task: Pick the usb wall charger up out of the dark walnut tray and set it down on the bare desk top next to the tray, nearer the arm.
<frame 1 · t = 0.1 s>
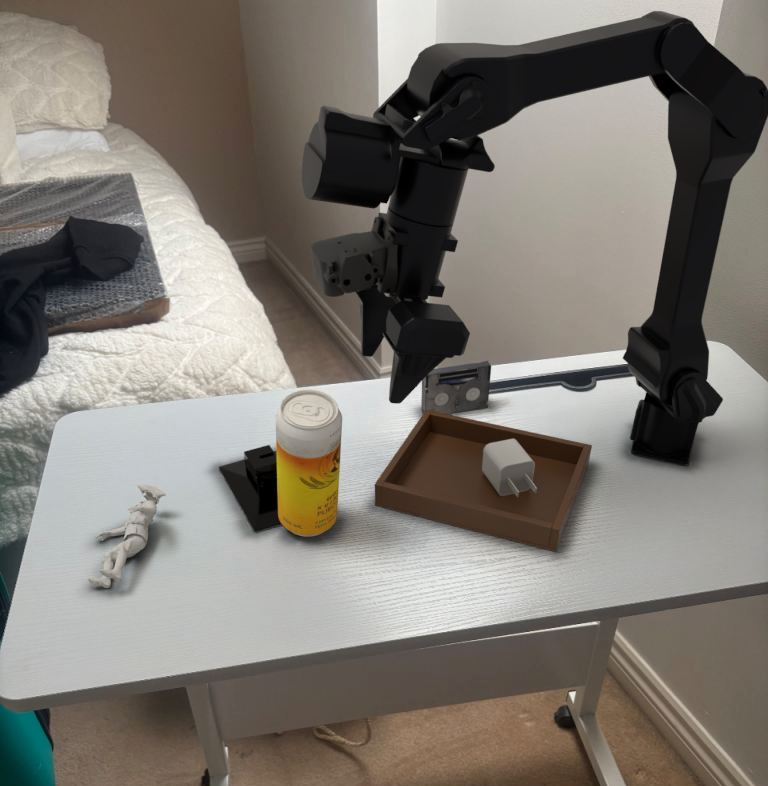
hand: (380, 378, 79), 15 cm above the table, tool pointing down, fingers open, 9 cm apart
mini dv tape: (454, 410, 103), on the table
tray: (484, 485, 91), on the table
beer can: (307, 519, 86), on the table
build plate: (266, 492, 91), on the table
usb wall charger: (511, 490, 90), resting on tray
soldier figure: (133, 552, 83), on the table
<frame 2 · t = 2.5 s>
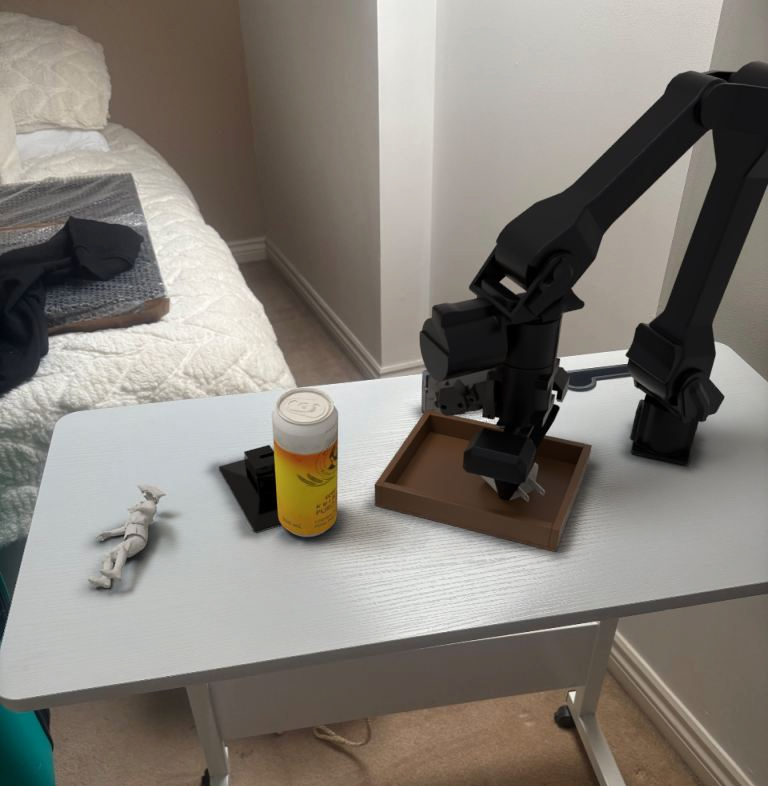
hand: (511, 483, 90), 1 cm above the table, tool pointing down, fingers closed on usb wall charger, 5 cm apart
beer can: (307, 520, 86), on the table, touching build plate
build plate: (266, 491, 91), on the table, touching beer can
usb wall charger: (513, 493, 89), resting on tray, touching gripper
everything else where it was.
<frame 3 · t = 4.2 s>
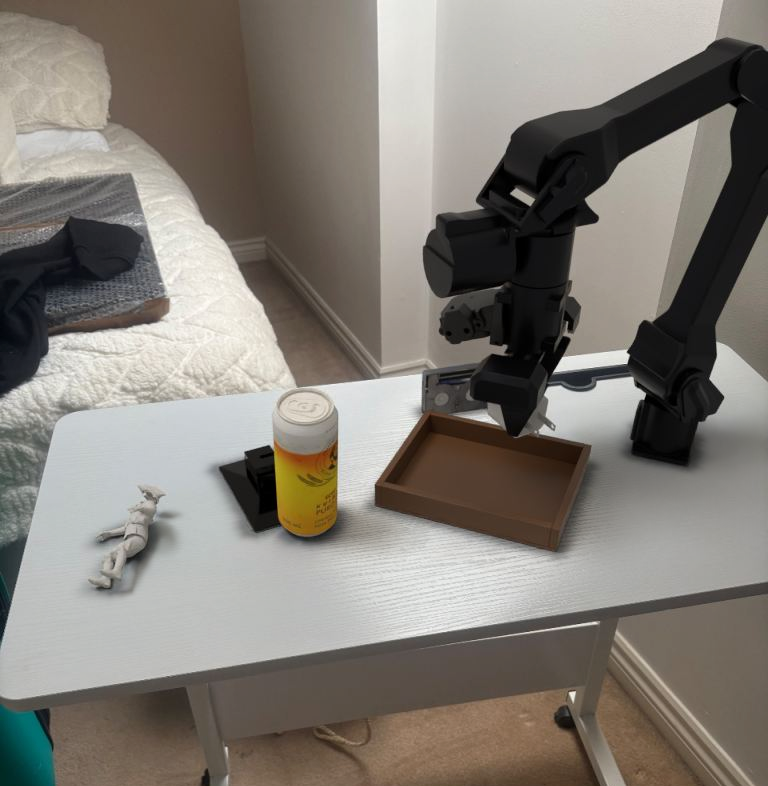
hand: (520, 420, 85), 9 cm above the table, tool pointing down, fingers closed on usb wall charger, 5 cm apart
usb wall charger: (522, 431, 85), point 8 cm above the table, touching gripper
everything else where it was.
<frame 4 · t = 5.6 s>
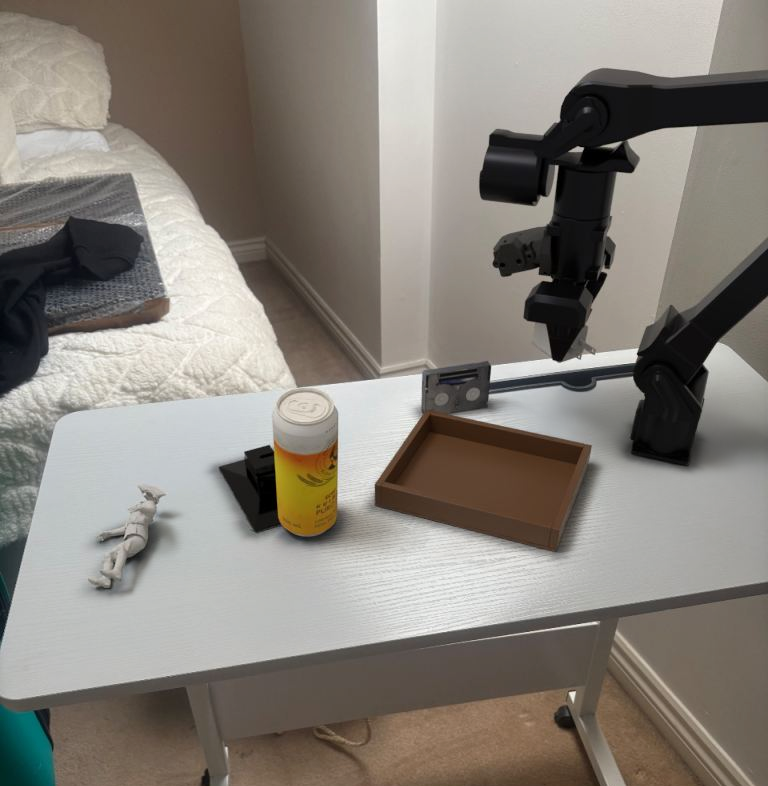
hand: (562, 348, 94), 10 cm above the table, tool pointing down, fingers closed on usb wall charger, 5 cm apart
usb wall charger: (563, 357, 94), point 9 cm above the table, touching gripper
everything else where it was.
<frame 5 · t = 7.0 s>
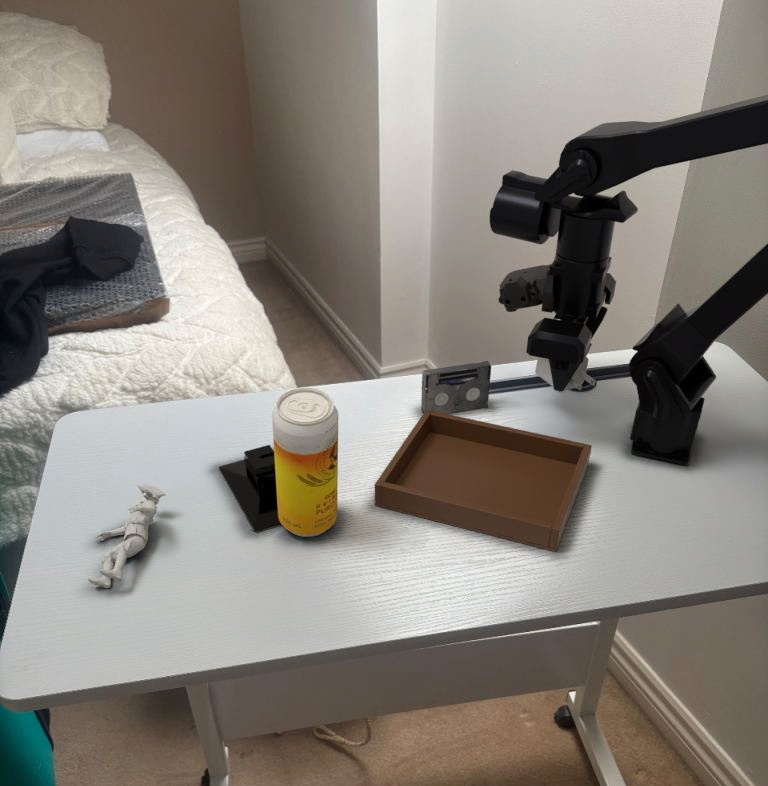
hand: (564, 378, 100), 5 cm above the table, tool pointing down, fingers closed on usb wall charger, 5 cm apart
usb wall charger: (565, 387, 100), point 4 cm above the table, touching gripper
everything else where it was.
when the fingers open (0 cm above the table, at t = 8.5 s): usb wall charger stays where it is, on the table.
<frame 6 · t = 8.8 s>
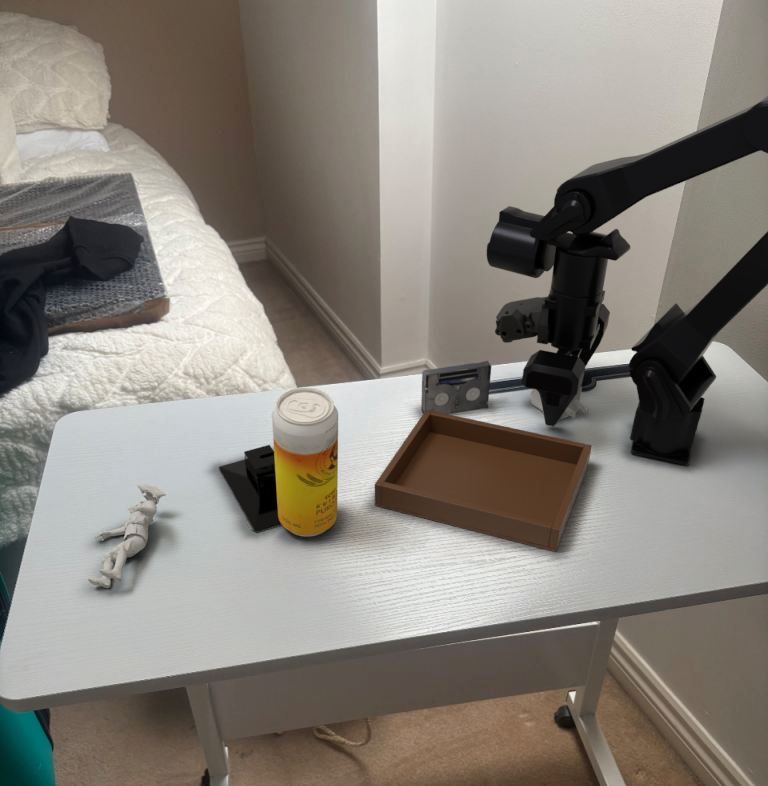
hand: (559, 406, 102), 1 cm above the table, tool pointing down, fingers open, 9 cm apart
usb wall charger: (560, 415, 102), on the table
everything else where it was.
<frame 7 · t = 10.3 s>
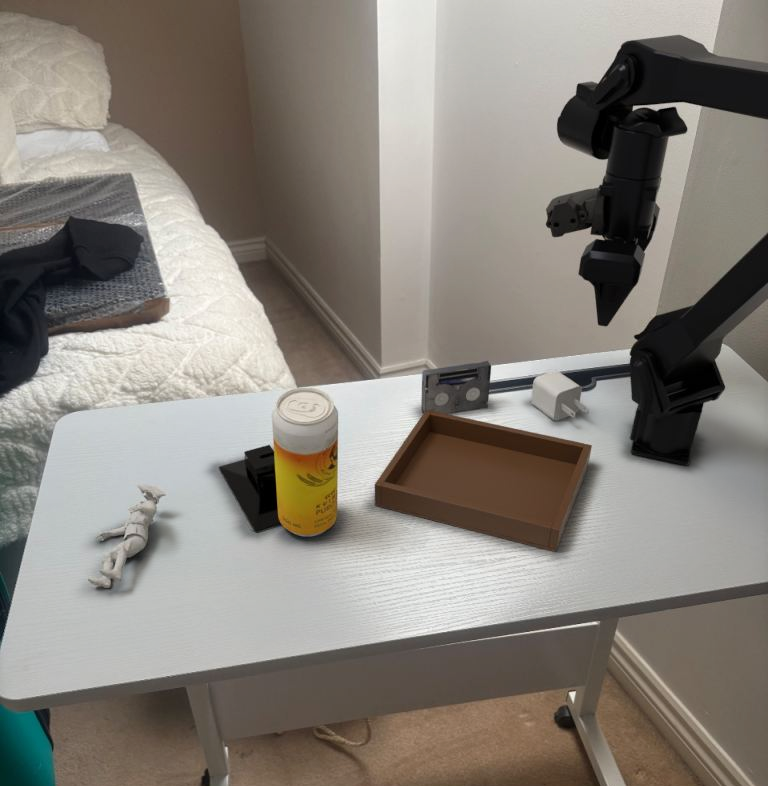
hand: (608, 308, 98), 12 cm above the table, tool pointing down, fingers open, 9 cm apart
nothing on the table moved.
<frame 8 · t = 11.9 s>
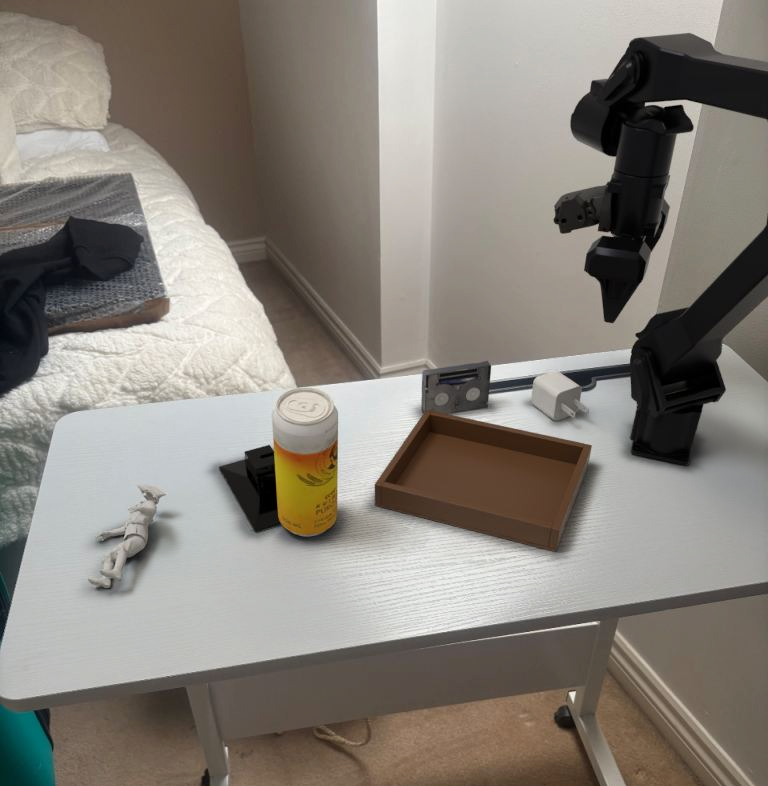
hand: (616, 305, 98), 12 cm above the table, tool pointing down, fingers open, 9 cm apart
nothing on the table moved.
at the end: usb wall charger inside the target area (0.8 cm from its centre), on the table; usb wall charger touching table; the gripper is holding nothing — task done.
